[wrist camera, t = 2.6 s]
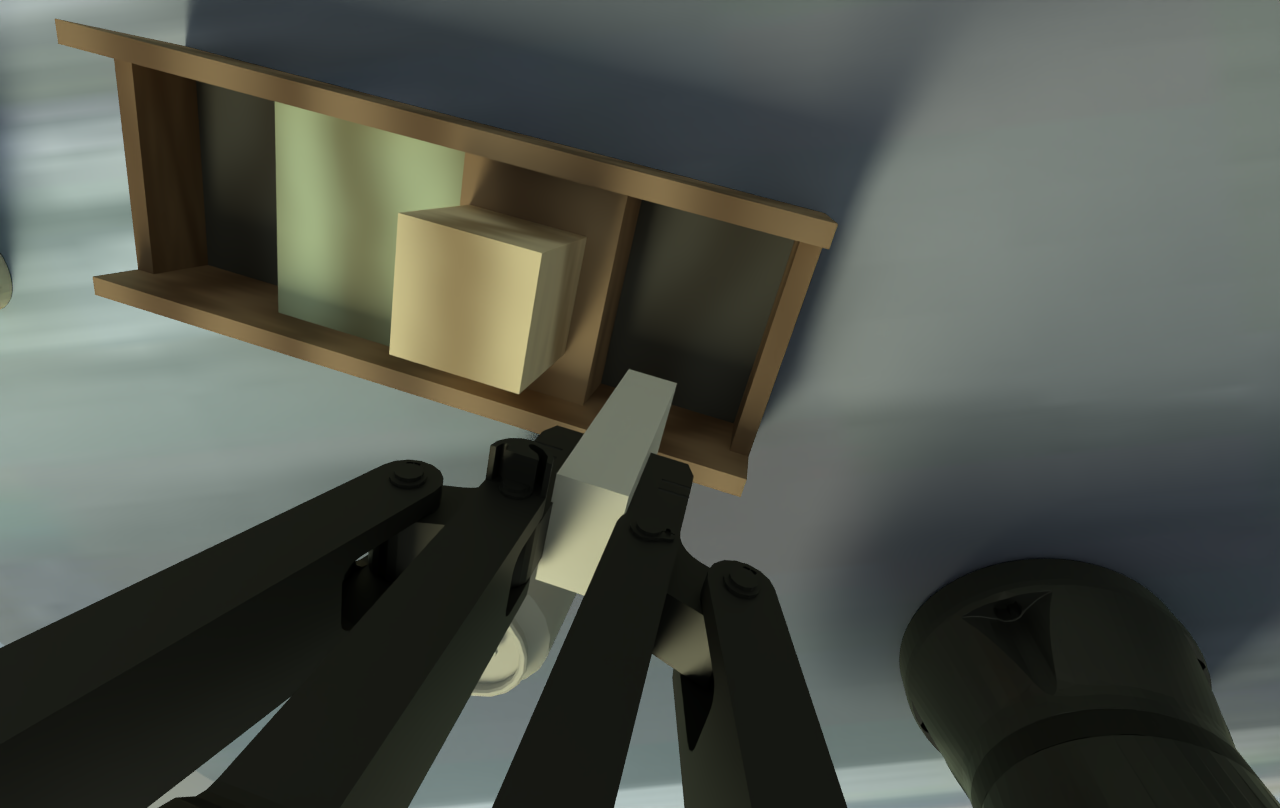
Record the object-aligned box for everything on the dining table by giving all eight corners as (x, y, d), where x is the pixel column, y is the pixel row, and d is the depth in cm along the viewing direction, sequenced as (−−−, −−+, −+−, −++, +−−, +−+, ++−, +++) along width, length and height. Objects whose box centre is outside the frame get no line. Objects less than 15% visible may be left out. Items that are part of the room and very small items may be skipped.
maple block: (586, 237, 28) (541, 253, 23) (564, 354, 30) (518, 394, 25) (469, 204, 29) (398, 212, 23) (456, 321, 31) (389, 354, 26)
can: (479, 478, 39) (367, 597, 28) (581, 456, 37) (501, 576, 26) (520, 571, 41) (430, 715, 31) (619, 556, 39) (560, 705, 28)
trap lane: (824, 213, 29) (837, 224, 23) (745, 440, 34) (740, 496, 28) (184, 45, 33) (54, 18, 27) (200, 275, 38) (95, 294, 32)
